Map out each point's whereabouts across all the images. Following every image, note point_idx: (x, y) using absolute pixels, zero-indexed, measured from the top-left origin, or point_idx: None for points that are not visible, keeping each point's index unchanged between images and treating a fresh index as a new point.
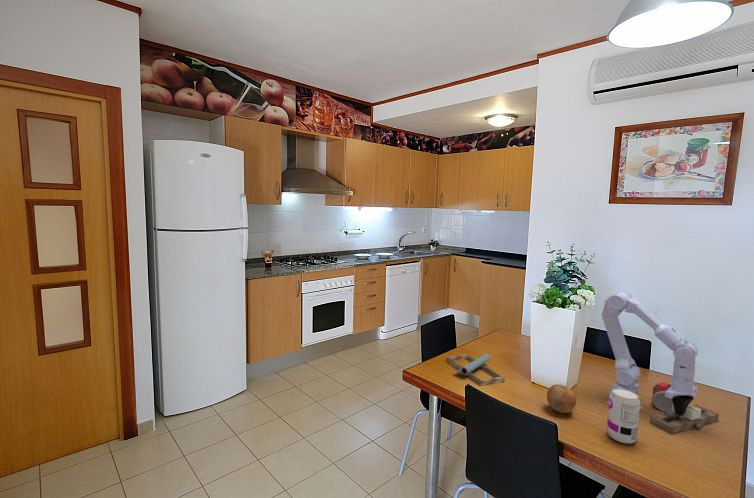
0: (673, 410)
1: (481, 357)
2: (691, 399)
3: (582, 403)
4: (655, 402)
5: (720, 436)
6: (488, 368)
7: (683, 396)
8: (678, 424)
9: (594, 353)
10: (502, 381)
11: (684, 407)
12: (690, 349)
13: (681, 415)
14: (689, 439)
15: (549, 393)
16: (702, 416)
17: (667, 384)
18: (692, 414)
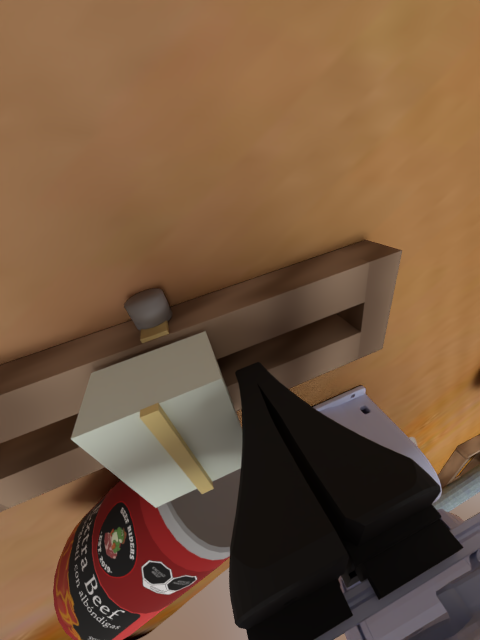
0: (236, 413)
1: (465, 500)
2: (302, 538)
3: (417, 407)
4: None
5: (33, 191)
6: (455, 475)
7: (372, 554)
8: (335, 282)
9: (138, 636)
10: (463, 445)
11: (290, 410)
12: None
13: (258, 362)
14: (326, 179)
15: None
16: (43, 399)
17: (116, 637)
18: (211, 363)
